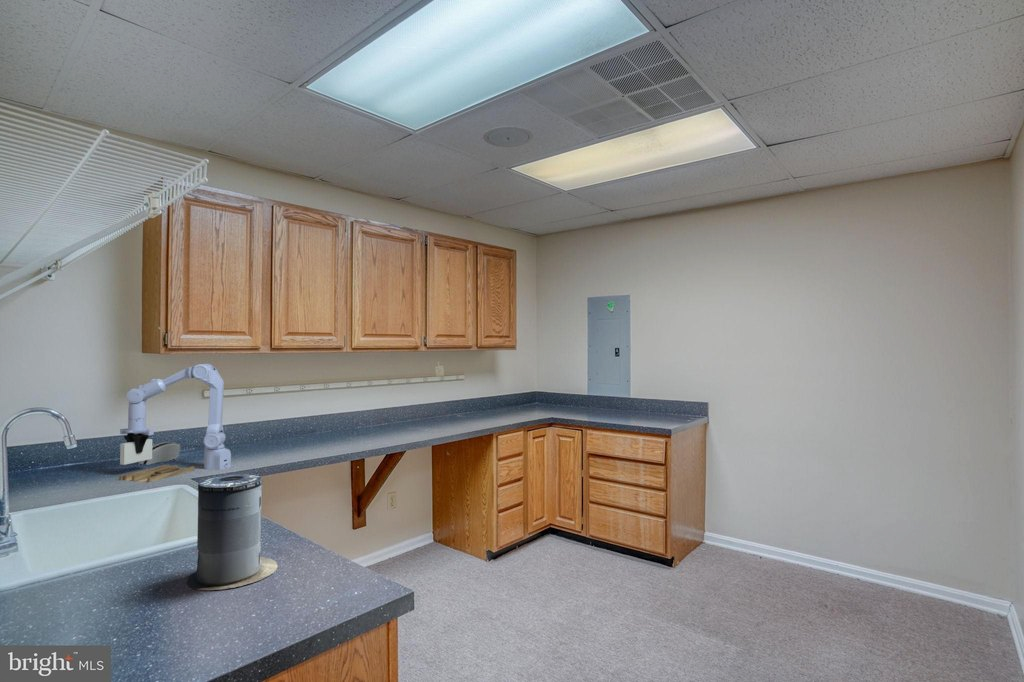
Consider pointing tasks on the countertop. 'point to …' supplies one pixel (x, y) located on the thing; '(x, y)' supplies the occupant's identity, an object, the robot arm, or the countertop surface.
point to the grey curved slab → (163, 453)
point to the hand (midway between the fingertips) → (136, 452)
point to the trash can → (229, 534)
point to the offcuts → (164, 471)
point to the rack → (146, 474)
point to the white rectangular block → (130, 454)
